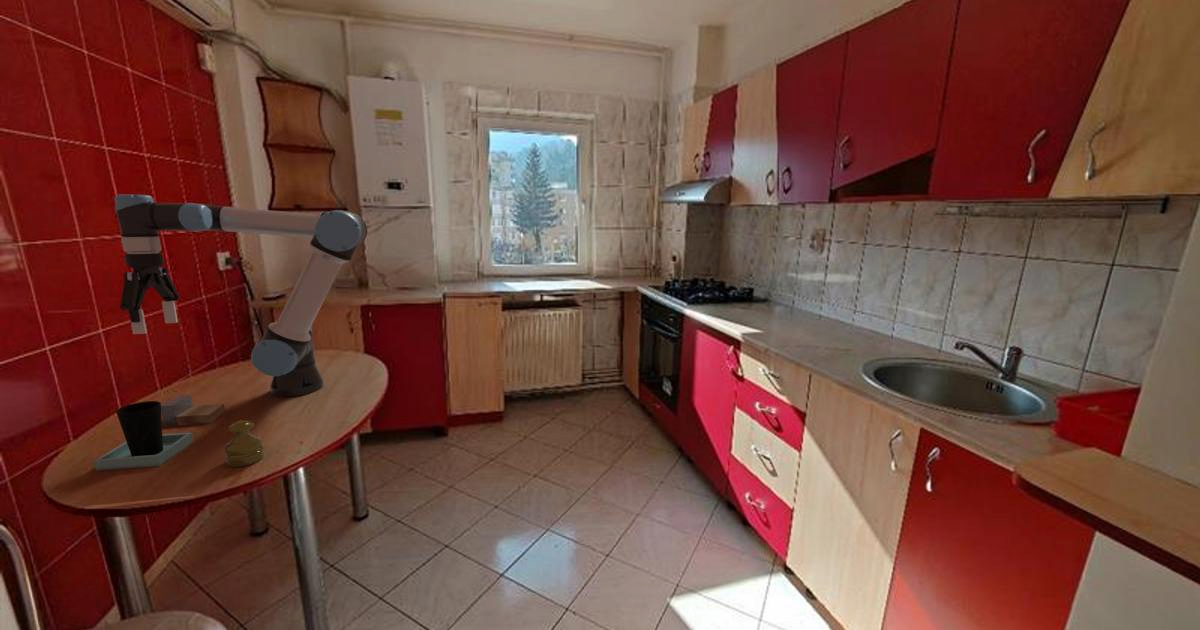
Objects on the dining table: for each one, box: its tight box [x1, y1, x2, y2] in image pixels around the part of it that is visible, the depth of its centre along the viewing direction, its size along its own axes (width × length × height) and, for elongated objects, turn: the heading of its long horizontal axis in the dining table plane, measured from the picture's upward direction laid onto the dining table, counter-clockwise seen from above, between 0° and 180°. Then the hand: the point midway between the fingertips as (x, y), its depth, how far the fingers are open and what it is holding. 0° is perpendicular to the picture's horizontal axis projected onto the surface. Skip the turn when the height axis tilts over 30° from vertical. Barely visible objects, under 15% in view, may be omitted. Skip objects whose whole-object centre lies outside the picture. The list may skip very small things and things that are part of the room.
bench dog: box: [161, 394, 194, 427], centre depth 133 cm, size 3×8×6 cm, turn 13°
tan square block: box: [176, 403, 226, 426], centre depth 135 cm, size 8×8×3 cm
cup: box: [116, 400, 163, 457], centre depth 113 cm, size 8×8×12 cm
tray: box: [93, 432, 194, 472], centre depth 114 cm, size 13×13×2 cm
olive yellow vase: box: [223, 419, 265, 468], centre depth 112 cm, size 7×8×10 cm
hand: (156, 328), depth 131 cm, fingers open, 13 cm apart
